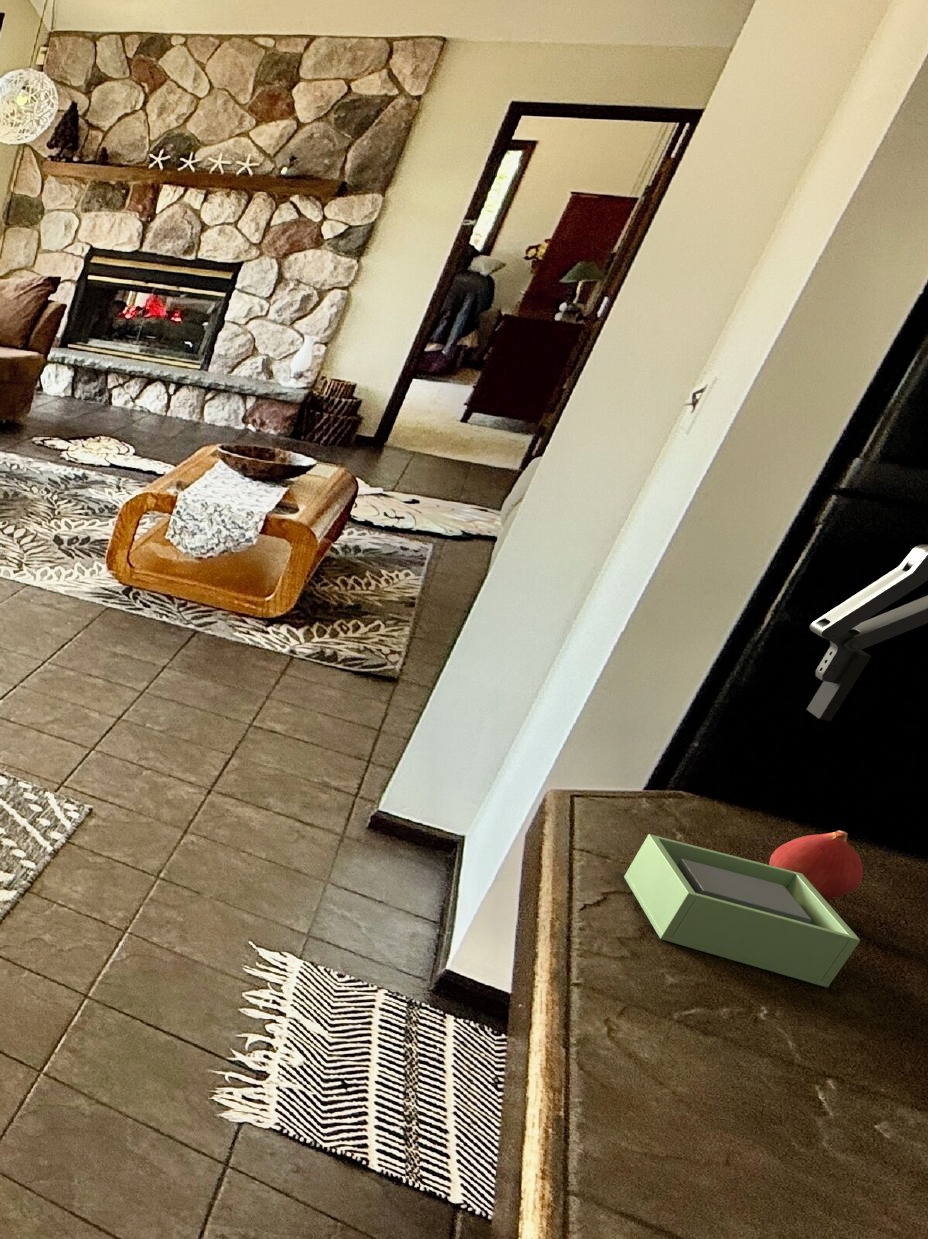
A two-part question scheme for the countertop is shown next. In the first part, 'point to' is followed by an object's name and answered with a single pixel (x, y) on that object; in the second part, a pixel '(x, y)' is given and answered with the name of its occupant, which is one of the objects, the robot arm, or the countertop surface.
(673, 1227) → the countertop surface
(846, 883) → the onion
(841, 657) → the robot arm
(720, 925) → the crate
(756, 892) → the block
